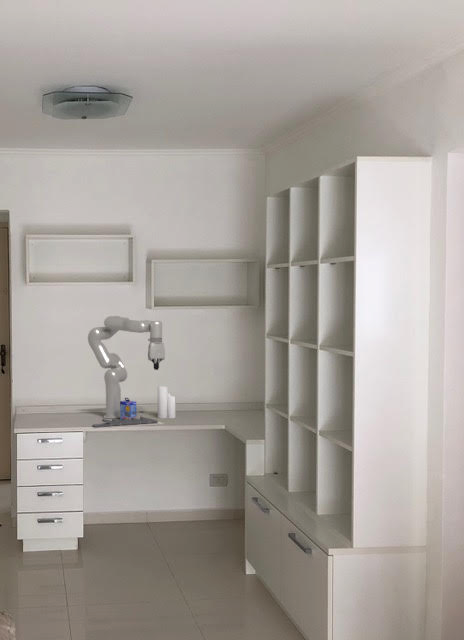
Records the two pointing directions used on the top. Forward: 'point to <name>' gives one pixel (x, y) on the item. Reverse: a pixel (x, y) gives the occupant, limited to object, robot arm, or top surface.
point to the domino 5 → (139, 420)
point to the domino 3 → (120, 421)
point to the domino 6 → (148, 419)
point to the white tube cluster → (165, 403)
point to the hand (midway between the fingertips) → (156, 369)
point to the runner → (135, 424)
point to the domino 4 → (130, 421)
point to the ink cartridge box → (127, 409)
